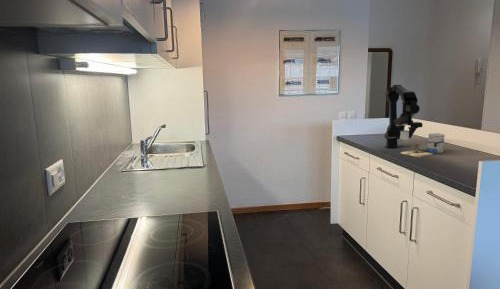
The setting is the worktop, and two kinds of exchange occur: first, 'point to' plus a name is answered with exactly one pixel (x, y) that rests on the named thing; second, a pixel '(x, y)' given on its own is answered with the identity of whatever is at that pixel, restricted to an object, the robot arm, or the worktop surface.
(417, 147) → the shaft block
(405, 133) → the tube
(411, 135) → the robot arm
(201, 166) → the worktop surface
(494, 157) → the worktop surface
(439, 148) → the ink box
